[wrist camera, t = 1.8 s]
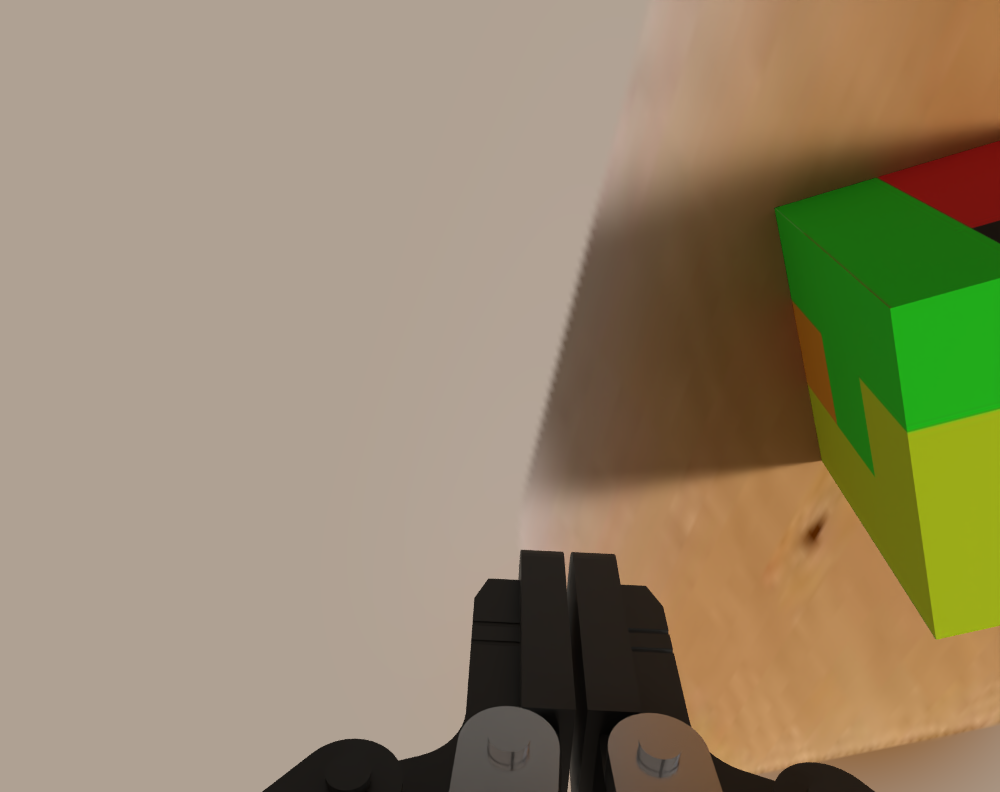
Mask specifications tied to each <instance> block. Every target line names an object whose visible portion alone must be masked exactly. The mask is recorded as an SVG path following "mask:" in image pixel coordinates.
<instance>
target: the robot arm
mask: <svg viewBox="0 0 1000 792" xmlns="http://www.w3.org/2000/svg"><path fill="white" fill-rule="evenodd" d="M569 770H570V781H571V792H874V791H873V790H872V789H870V788H869V787H868V786H867V785H865V784H864V783H863V782H861V781H860V780H859V779H857V778H856V777H854V776H853V775H851V774H849V773H847V772H845V771H843V770H841V769H839V768H836V767H833V766H830V765H826V764H821V763H811V762H806V763H799V764H795V765H792V766H790V767H788V768H786V769H785V770H783V771H782V772H781V773H780V774H779V776H778V777H777V779H776V781H773V780H770V779H767V778H764V777H761V776H758V775H755V774H751V773H748V772H745V771H742V770H740V769H737V768H734V767H732V766H730V765H728V764H726V763H724V762H723V761H721V760H720V759H718V758H716V757H715V756H714V755H713V754H711V753H710V752H709V749H708V747H707V745H706V743H705V742H704V740H703V739H702V737H701V736H700V735H699V734H698V733H697V732H696V731H695V730H694V729H693V728H691V725H690V721H689V717H688V713H687V708H686V704H685V700H684V695H683V691H682V687H681V682H680V678H679V674H678V669H677V665H676V661H675V656H674V654H673V648H672V643H671V639H670V635H669V634H668V626H667V622H666V617H665V613H664V609H663V606H662V605H661V604H660V603H659V601H658V600H657V599H656V598H655V596H654V595H653V594H652V593H651V592H650V590H649V589H648V588H647V587H646V586H636V585H620V579H619V573H618V567H617V561H616V556H615V554H600V553H579V552H572V553H571V556H570V563H569V574H568V585H567V588H566V575H565V562H564V553H563V552H555V551H534V550H521V552H520V564H519V580H507V579H488V580H487V581H486V583H485V584H484V586H483V587H482V588H481V590H480V591H479V593H478V594H477V595H476V597H475V599H474V612H473V625H472V639H471V652H470V666H469V679H468V694H467V707H466V715H465V720H464V722H463V725H462V727H461V728H460V730H459V732H458V733H457V734H456V735H455V736H454V737H453V739H451V740H450V741H449V742H448V743H447V744H445V745H444V746H442V747H440V748H439V749H437V750H435V751H433V752H430V753H428V754H424V755H421V756H417V757H412V758H408V759H404V760H400V761H398V760H397V758H396V757H395V756H394V754H393V753H392V752H390V751H389V750H388V749H387V748H385V747H384V746H382V745H380V744H378V743H375V742H373V741H369V740H364V739H345V740H340V741H336V742H333V743H330V744H327V745H325V746H323V747H321V748H319V749H318V750H316V751H315V752H313V753H312V754H311V755H309V756H308V757H307V758H305V759H304V760H303V761H302V762H300V763H299V764H298V765H296V766H295V767H294V768H292V769H291V770H290V771H289V772H287V773H286V774H285V775H283V776H282V777H281V778H280V779H278V780H277V781H276V782H274V783H273V784H272V785H270V786H269V787H268V788H267V789H265V790H264V791H263V792H567V789H568V780H569Z"/></svg>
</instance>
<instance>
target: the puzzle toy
mask: <svg viewBox="0 0 1000 792" xmlns="http://www.w3.org/2000/svg"><path fill="white" fill-rule="evenodd" d="M774 209H775V214H776V219H777V225H778V230H779V235H780V241H781V246H782V251H783V257H784V262H785V267H786V273H787V278H788V283H789V289H790V294H791V299H792V305H793V310H794V315H795V321H796V326H797V331H798V337H799V342H800V347H801V353H802V358H803V363H804V369H805V374H806V379H807V384H808V390H809V395H810V400H811V406H812V411H813V416H814V422H815V427H816V432H817V438H818V443H819V448H820V454H821V459H822V462H823V463H824V465H825V466H826V468H827V470H828V471H829V473H830V474H831V476H832V477H833V479H834V481H835V482H836V484H837V485H838V487H839V488H840V490H841V491H842V493H843V495H844V496H845V498H846V499H847V501H848V502H849V504H850V506H851V507H852V509H853V510H854V512H855V513H856V515H857V517H858V518H859V520H860V521H861V523H862V524H863V526H864V528H865V529H866V531H867V532H868V534H869V535H870V537H871V539H872V540H873V542H874V543H875V545H876V546H877V548H878V549H879V551H880V553H881V554H882V556H883V557H884V559H885V560H886V562H887V564H888V565H889V567H890V568H891V570H892V571H893V573H894V575H895V576H896V578H897V579H898V581H899V582H900V584H901V586H902V587H903V589H904V590H905V592H906V593H907V595H908V596H909V598H910V600H911V601H912V603H913V604H914V606H915V607H916V609H917V611H918V612H919V614H920V615H921V617H922V618H923V620H924V622H925V623H926V625H927V626H928V628H929V629H930V631H931V633H932V634H933V636H934V637H935V639H936V640H937V639H941V638H946V637H950V636H955V635H959V634H964V633H968V632H973V631H977V630H982V629H987V628H991V627H996V626H1000V141H997V142H993V143H990V144H987V145H983V146H980V147H977V148H973V149H970V150H967V151H963V152H960V153H957V154H953V155H950V156H947V157H943V158H940V159H937V160H933V161H930V162H927V163H923V164H920V165H917V166H913V167H910V168H906V169H903V170H900V171H896V172H893V173H890V174H886V175H883V176H880V177H876V178H873V179H870V180H866V181H863V182H860V183H856V184H853V185H850V186H846V187H843V188H840V189H836V190H833V191H830V192H826V193H823V194H820V195H816V196H813V197H810V198H806V199H803V200H800V201H796V202H793V203H790V204H786V205H783V206H780V207H776V208H774Z"/></svg>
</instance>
